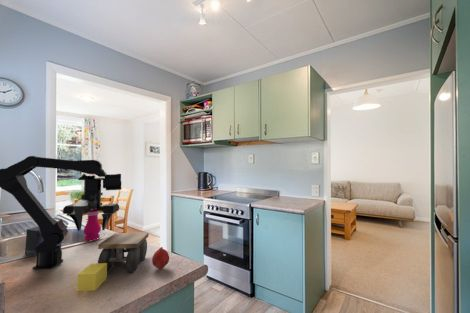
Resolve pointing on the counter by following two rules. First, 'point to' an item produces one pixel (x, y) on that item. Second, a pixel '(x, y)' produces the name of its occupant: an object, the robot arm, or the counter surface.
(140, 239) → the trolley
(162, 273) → the counter surface
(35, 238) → the small box
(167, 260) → the onion
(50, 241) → the robot arm
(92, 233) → the pepper mill
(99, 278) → the block
